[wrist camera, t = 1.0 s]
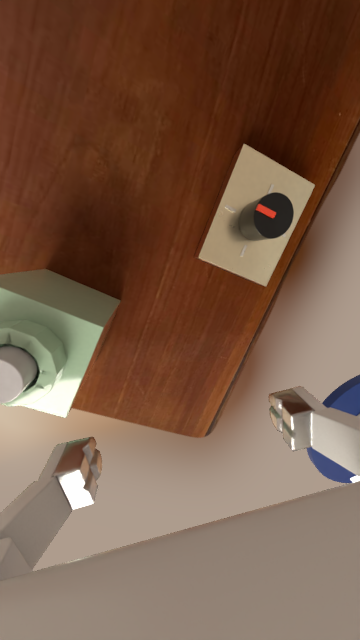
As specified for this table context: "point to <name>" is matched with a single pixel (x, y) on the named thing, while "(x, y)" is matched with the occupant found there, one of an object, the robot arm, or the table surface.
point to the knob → (266, 217)
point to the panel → (235, 194)
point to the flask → (54, 333)
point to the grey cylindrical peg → (15, 372)
